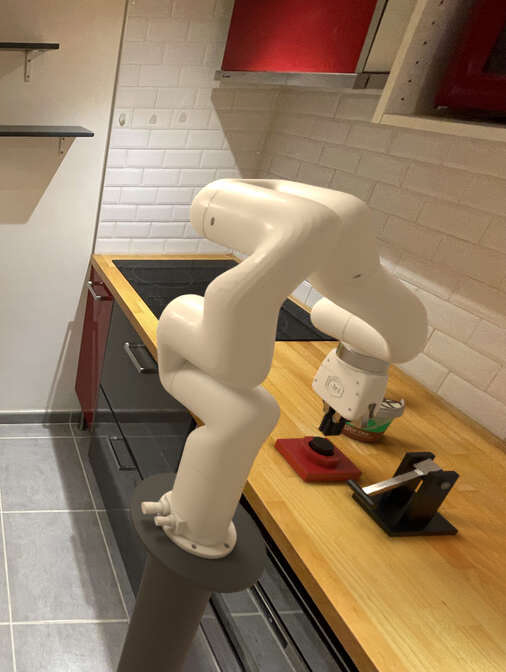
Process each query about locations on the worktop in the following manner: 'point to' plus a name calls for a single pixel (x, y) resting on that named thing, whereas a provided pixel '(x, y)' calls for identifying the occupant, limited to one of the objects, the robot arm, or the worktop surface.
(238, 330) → the robot arm
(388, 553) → the worktop surface
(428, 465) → the lever
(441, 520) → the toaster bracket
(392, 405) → the food container
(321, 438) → the stop button
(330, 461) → the block
